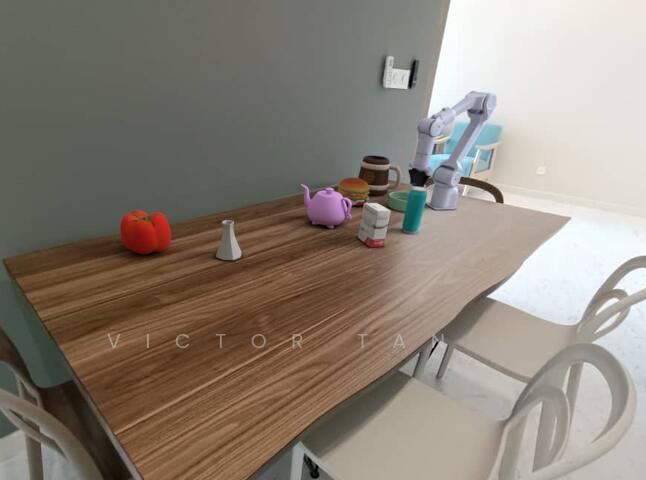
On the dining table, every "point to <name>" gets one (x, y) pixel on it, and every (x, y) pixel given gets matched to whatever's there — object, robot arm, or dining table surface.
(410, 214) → the beverage can
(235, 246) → the flask
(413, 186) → the eraser
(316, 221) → the teapot
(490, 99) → the robot arm
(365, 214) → the ink box
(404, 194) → the bowl
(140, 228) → the red bell pepper
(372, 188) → the mug
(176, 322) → the dining table surface
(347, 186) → the burger
